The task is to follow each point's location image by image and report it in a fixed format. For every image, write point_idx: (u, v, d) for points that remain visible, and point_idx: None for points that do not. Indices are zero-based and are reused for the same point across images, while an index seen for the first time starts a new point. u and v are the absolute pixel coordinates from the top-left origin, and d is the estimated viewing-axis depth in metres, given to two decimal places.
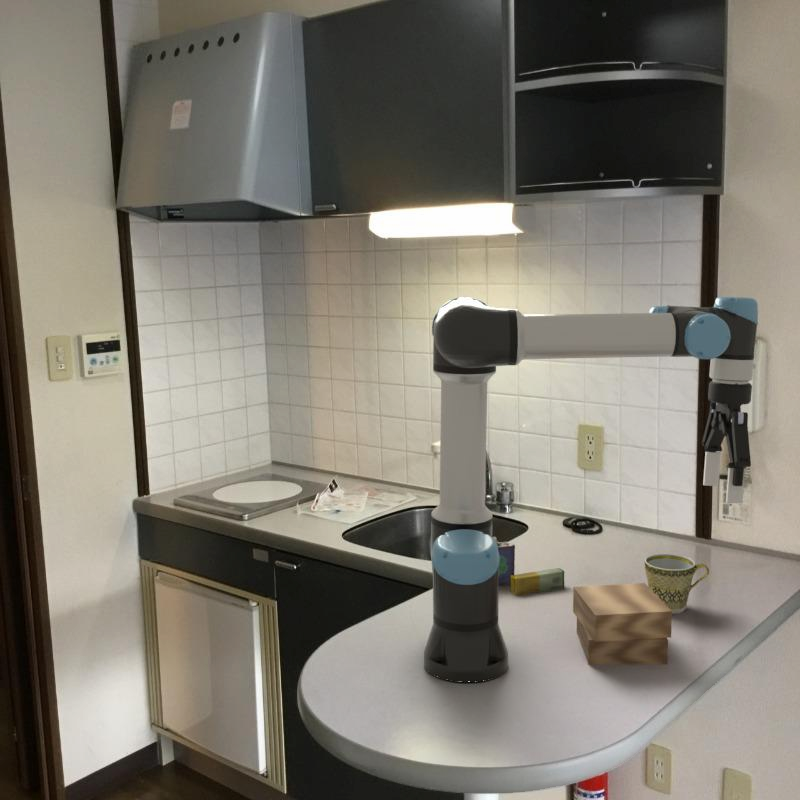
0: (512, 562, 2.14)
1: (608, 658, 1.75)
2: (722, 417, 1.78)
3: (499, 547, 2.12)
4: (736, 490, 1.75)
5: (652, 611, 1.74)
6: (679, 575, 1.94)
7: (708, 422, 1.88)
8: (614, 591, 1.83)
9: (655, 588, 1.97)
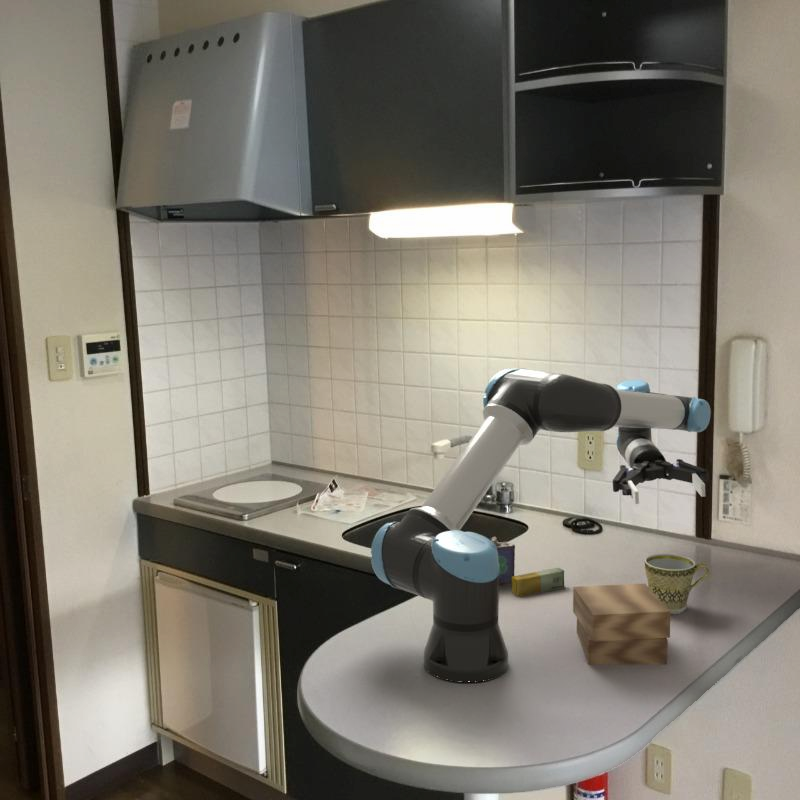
0: (512, 562, 2.14)
1: (607, 658, 1.75)
2: None
3: (499, 547, 2.12)
4: None
5: (650, 611, 1.74)
6: (679, 575, 1.94)
7: (622, 472, 2.12)
8: (613, 591, 1.83)
9: (655, 588, 1.97)
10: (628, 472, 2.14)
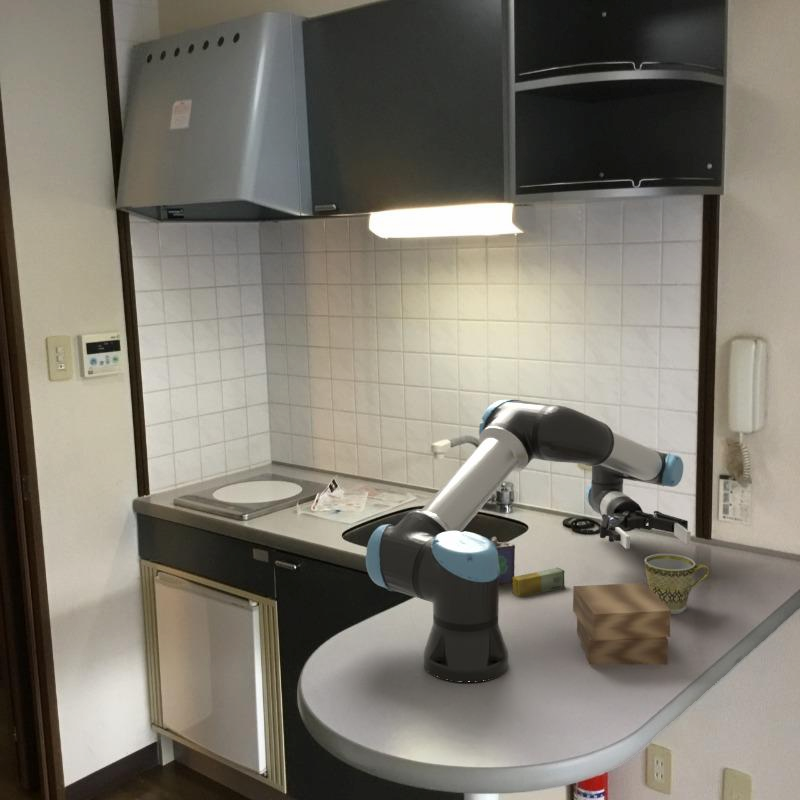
0: (512, 562, 2.14)
1: (608, 658, 1.74)
2: None
3: (499, 547, 2.12)
4: None
5: (651, 610, 1.74)
6: (679, 575, 1.94)
7: (606, 520, 2.18)
8: (613, 590, 1.84)
9: (655, 588, 1.97)
10: (610, 521, 2.21)
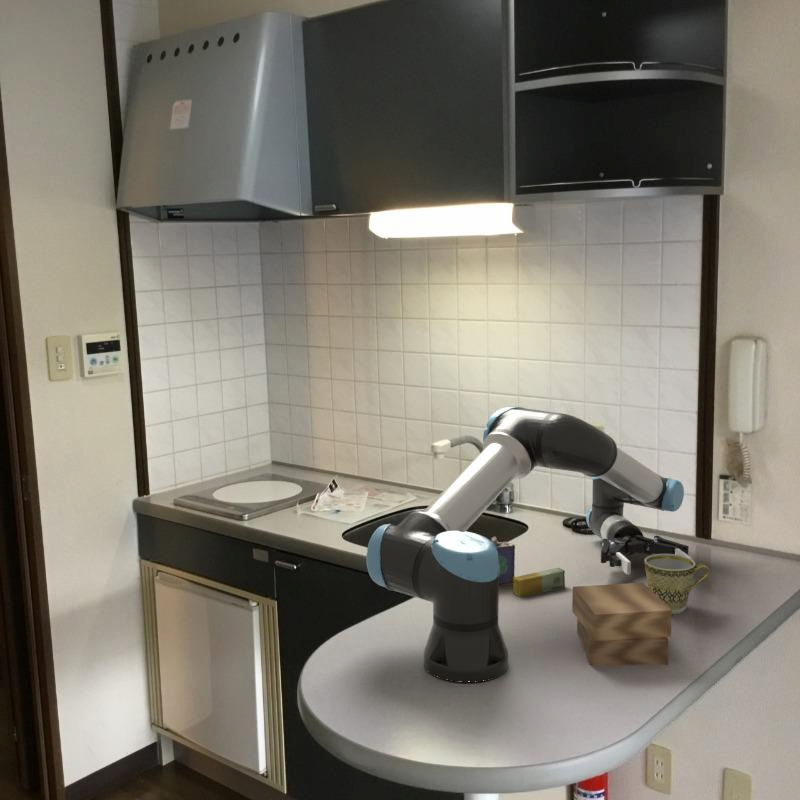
0: (512, 562, 2.14)
1: (609, 658, 1.74)
2: None
3: (499, 547, 2.12)
4: None
5: (652, 610, 1.74)
6: (679, 575, 1.94)
7: (606, 544, 2.18)
8: (613, 590, 1.84)
9: (655, 588, 1.97)
10: (611, 545, 2.20)
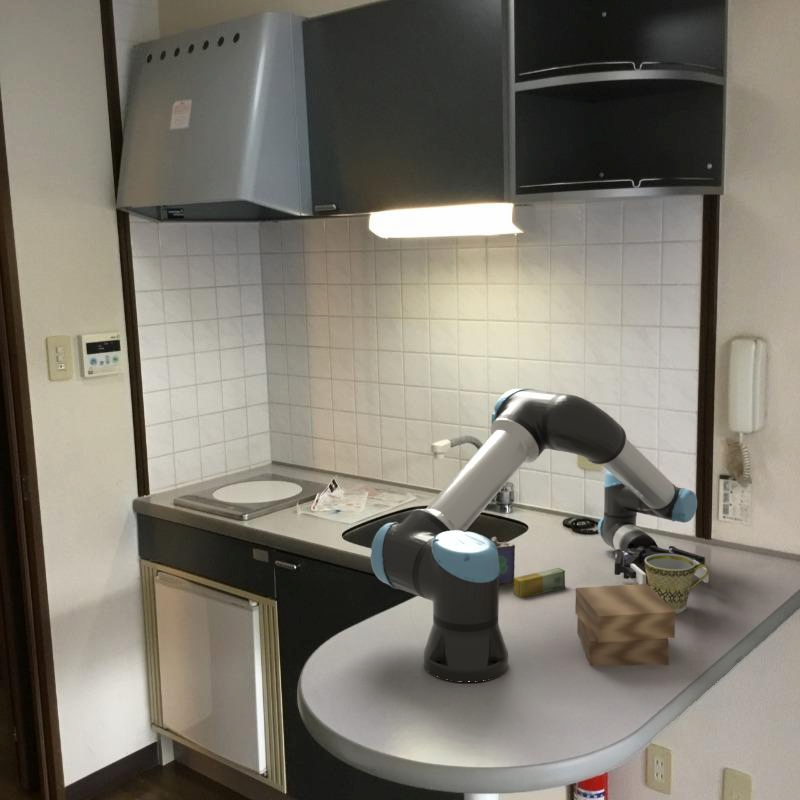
0: (512, 562, 2.14)
1: (609, 659, 1.74)
2: None
3: (499, 547, 2.12)
4: None
5: (656, 611, 1.74)
6: (679, 575, 1.94)
7: (620, 555, 2.11)
8: (616, 592, 1.83)
9: (655, 588, 1.97)
10: (624, 556, 2.14)
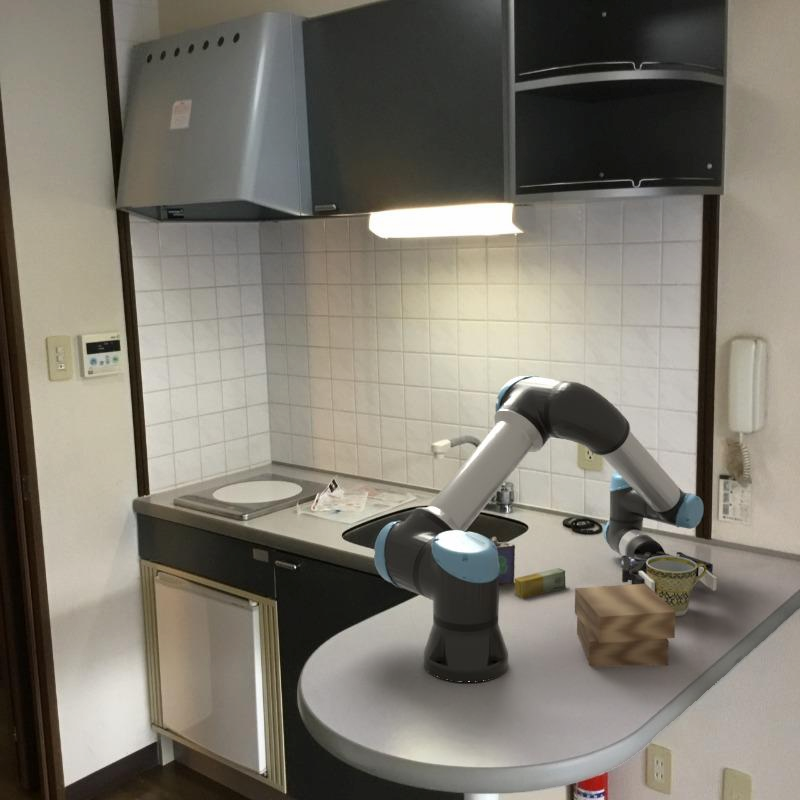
0: (512, 562, 2.14)
1: (608, 659, 1.74)
2: None
3: (499, 547, 2.12)
4: None
5: (656, 612, 1.73)
6: (687, 576, 1.93)
7: (627, 562, 2.06)
8: (616, 592, 1.83)
9: (662, 592, 1.95)
10: (631, 563, 2.09)
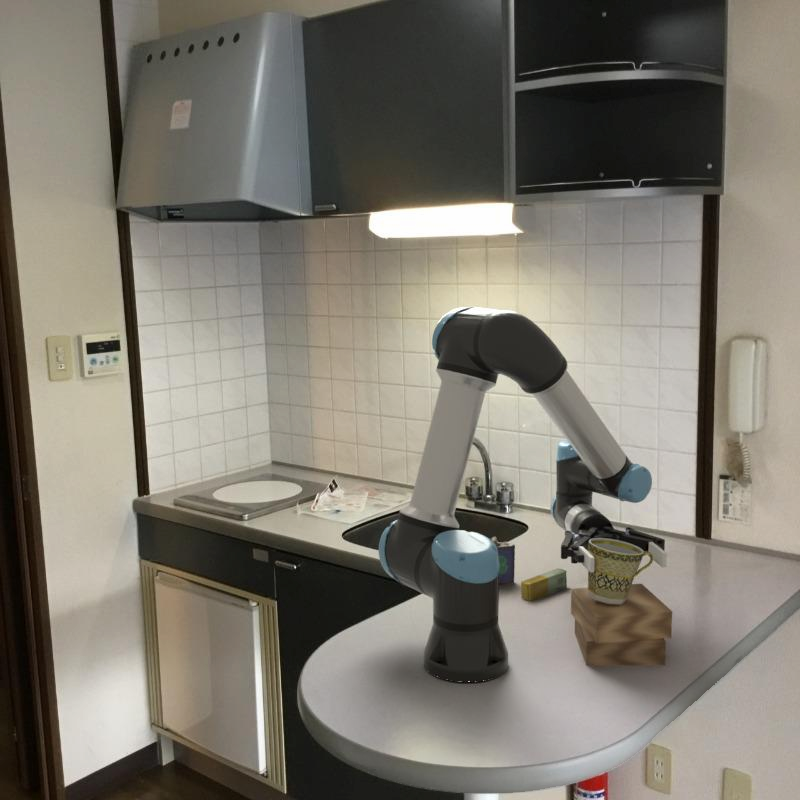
0: (512, 562, 2.14)
1: (605, 659, 1.74)
2: None
3: (499, 547, 2.12)
4: None
5: (652, 611, 1.74)
6: (632, 560, 1.73)
7: (569, 537, 1.86)
8: None
9: (601, 574, 1.75)
10: (574, 539, 1.89)
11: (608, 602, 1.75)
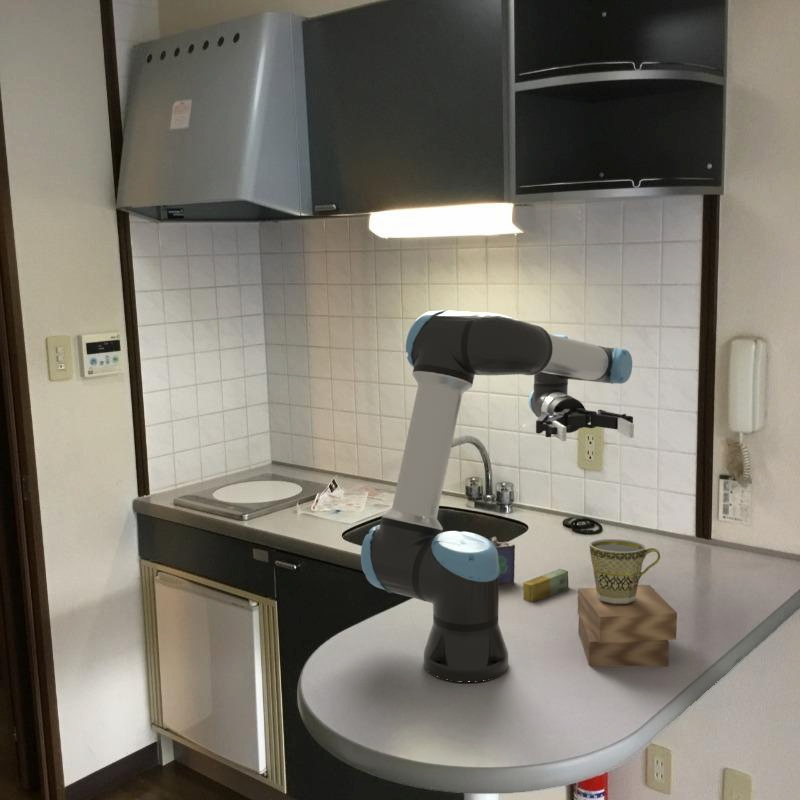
0: (512, 562, 2.14)
1: (608, 660, 1.74)
2: None
3: (499, 547, 2.12)
4: None
5: (657, 613, 1.73)
6: (628, 558, 1.74)
7: (544, 416, 1.99)
8: None
9: (601, 575, 1.76)
10: (549, 418, 2.02)
11: (613, 602, 1.76)
